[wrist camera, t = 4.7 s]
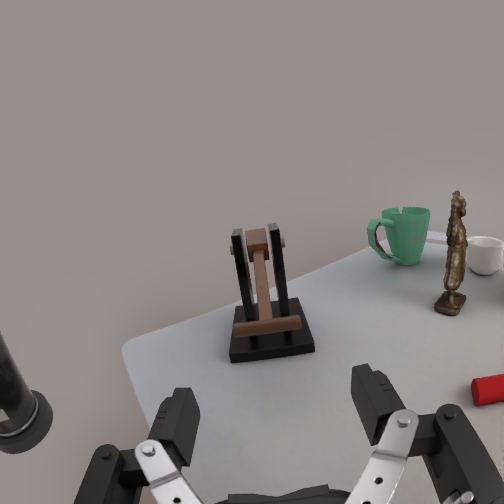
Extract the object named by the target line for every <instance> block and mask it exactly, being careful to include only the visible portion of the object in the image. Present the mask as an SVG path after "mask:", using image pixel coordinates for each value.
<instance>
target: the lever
mask: <svg viewBox="0 0 504 504" xmlns="http://www.w3.org/2000/svg"><path fill="white" fill-rule="evenodd" d="M246 245H247V251H248V256H249V261H250V262H254V269H255V280H256V290H257V301H258V311H259V320H258V321H250V322H242V323H234V324H233V333H234V336H235V337H236V338H237V337H245V336H253V335H261V334H269V333H276V332H282V331H289V330H295V329H300V328H301V320H300V316H299V315H292V316H286V317H279V318H273V317H272V310H271V302H270V295H269V288H268V281H267V274H266V267H265V260H269V252H268V244H267V239H266V232H265V228H262V229H255V230H249V231H246Z"/></svg>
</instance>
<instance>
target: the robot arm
mask: <svg viewBox="0 0 504 504" xmlns="http://www.w3.org/2000/svg"><path fill="white" fill-rule="evenodd" d="M351 395H352V399H353V402H354V404H355V406H356V409H357V411H358V414H359V416H360V419H361V421H362V424H363V426H364V429H365V431H366V434H367V437H368V439H369V442H370V444H371V446H373V445H376V444H378V445H377V448H376V450H375V451H374V452H373V454H372V455H371V457H370V459H369V461H368V463H367V465H366V467H365V469H364V471H363V473H362V475H361V477H360V478H359V480H358V482H357V484H356V485H355V487H354V489H353V490H352V492H351V493H350V492H347V491H342V490H335V489H329V488H328V484H326V485H321V486H316V487H310V488H304V489H301V490H298V491H295V492H292V493H289V494H286V495H283V496H279V497H274V496H265V495H258V494H228V500H224V501H221V502H218V503H215V504H388V503H389V501H390V499H391V497H392V495H393V493H394V491H395V489H396V486H397V484H398V482H399V479H400V477H401V475H402V472H403V470H404V467H405V464H406V462H407V459H408V458H407V457H413V456H421V455H422V457H423V459H424V462H425V464H426V467H427V469H428V472H429V474H430V477H431V479H432V482H433V484H434V487H435V490H436V492H437V495H438V498H439V501H440V504H504V481H503V479H502V477H501V476H500V474H499V472H498V470H497V468H496V466H495V464H494V462H493V461H492V459H491V457H490V455H489V453H488V452H487V450H486V448H485V446H484V445H483V443H482V441H481V440H480V438H479V436H478V435H477V433H476V431H475V430H474V428H473V427H472V425H471V423H470V422H469V420H468V419H467V417H466V416H465V414H464V412H463V411H462V409H461V408H460V407H459V406H457V405H455V404H445V405H443V406H441V407H440V408H439V409H438V410H437V412H436V413H435V414H427V415H417V414H416V413H415V412H413V411H411V410H408V409H406V408H405V406H404V404H403V402H402V401H401V399H400V397H399V396H398V394H397V392H396V391H395V389H394V387H393V386H392V384H390V381H389V379H388V378H387V376H386V375H385V374H383V373H382V372H380V371H379V370H378V371H374V372H373V371H372V370H371V368H370V366H369V365H368V364H367V363H366V364H362V365H358V366H354V367H353V368H352V379H351ZM39 410H40V406H39V402H38V400H37V399H36V397H35V396H34V395H33V393H32V392H31V390H30V389H29V387H28V385H27V383H26V382H25V380H24V378H23V376H22V375H21V373H20V371H19V369H18V367H17V365H16V364H15V362H14V360H13V358H12V356H11V354H10V352H9V349H8V347H7V345H6V343H5V341H4V339H3V337H2V334H1V332H0V437H1V438H13V437H16V436H19V435H21V434H22V433H24V432H25V431H27V430H28V429H29V428H30V427H31V426H32V425H33V423H34V422H35V420H36V419H37V417H38V414H39ZM199 420H200V410H199V406H198V404H197V402H196V399H195V397H194V394H193V391H192V389H191V388H175V390H174V393H173V395H172V397H167V398H166V399H165V400H164V401H163V402H162V403H161V405H160V407H159V410H158V413H157V415H156V418H155V420H154V423H153V425H152V428H151V431H150V433H149V436H148V438H147V440H144V441H142V442H140V443H139V444H138V445H137V446H136V448H135V449H130V450H121V451H119V450H118V449H117V448H116V447H115V446H114V445H110V444H106V445H102V446H100V447H98V448H97V449H96V451H95V452H94V454H93V457H92V459H91V461H90V464H89V466H88V469H87V471H86V474H85V476H84V478H83V481H82V483H81V486H80V488H79V491H78V494H77V496H76V499H75V501H74V504H139V500H140V496H141V492H142V488H143V486H149V489H150V490H151V492H152V494H153V496H154V498H155V499H156V501H157V503H158V504H204V503H203V501H202V500H201V499H200V498H199V496H198V495H197V494H196V493H195V491H194V490H193V489H192V487H191V486H190V484H189V483H188V482H187V480H186V479H185V478H184V476H183V475H182V473H181V469H182V466H185V467H190V463H191V458H192V453H193V448H194V444H195V439H196V434H197V430H198V425H199Z"/></svg>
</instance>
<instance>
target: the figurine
mask: <svg viewBox="0 0 504 504" xmlns="http://www.w3.org/2000/svg"><path fill="white" fill-rule="evenodd" d="M451 201H452V205H451V207H452V209H451V216H450V218H449V224H448V228H447V233H446V236H447V237H448V238H447V244H448V250H447V262H446V273H445V277H444V280H443V281H444V287H445V289H446V290H447V291H444V293H443V294H442V295H441V296H440V297H439V299H438V300H437V302H436V303H435V304H434V309H435V310H437V311H438V312H441V313H443V314H445V315H449V316H454V315H458V313H459V311H460V309H461V308H462V306H463V304H464V302H465V300H466V296H465V295H463V294H461V293H457V292H455V290H457V289H458V288H459V286H460V285H461V282H463V278H464V273H465V257H466V248H467V246H468V241H467V240H466V237H467V236H466V235H465V234H466V229H465V227H464V225H463V223H462V220H461V217H463V216H465V214H466V210H465V206H466V202H465V199H464V198H463V197H462V196H460V192H459V191H456V192H455V193H453V199H452V200H451Z"/></svg>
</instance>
